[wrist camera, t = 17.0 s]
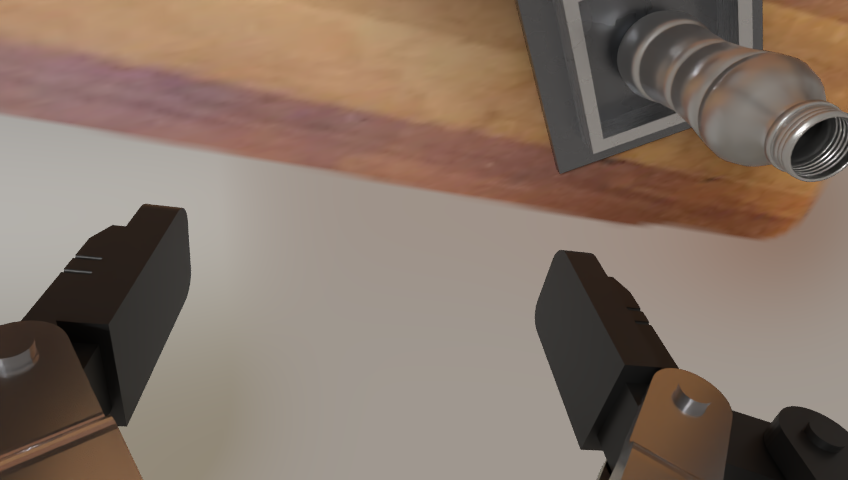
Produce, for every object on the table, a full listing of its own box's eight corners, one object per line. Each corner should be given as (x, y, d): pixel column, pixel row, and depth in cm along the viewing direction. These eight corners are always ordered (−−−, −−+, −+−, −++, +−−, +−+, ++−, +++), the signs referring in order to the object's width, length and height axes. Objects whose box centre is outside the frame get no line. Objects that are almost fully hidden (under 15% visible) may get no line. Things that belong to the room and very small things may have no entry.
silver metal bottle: (647, -14, 40) (840, 54, 24) (708, 34, 43) (923, 127, 26) (591, 62, 43) (728, 170, 26) (651, 103, 45) (811, 227, 29)
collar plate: (505, -37, 40) (517, -31, 36) (752, -138, 37) (790, -141, 34) (556, 169, 49) (570, 189, 46) (756, 98, 47) (785, 114, 44)
